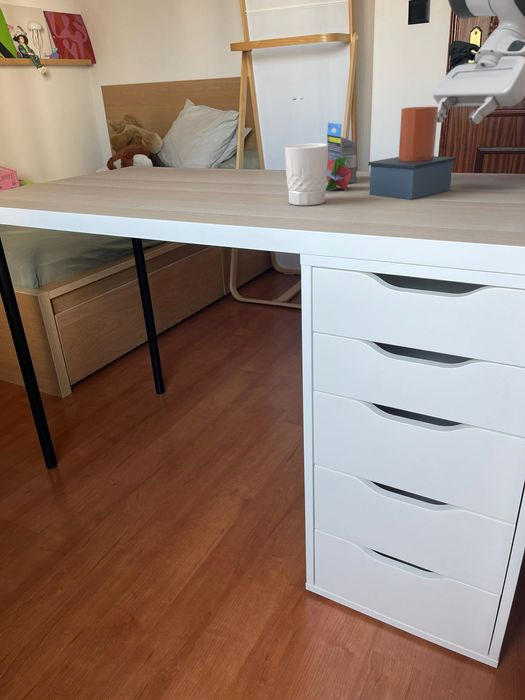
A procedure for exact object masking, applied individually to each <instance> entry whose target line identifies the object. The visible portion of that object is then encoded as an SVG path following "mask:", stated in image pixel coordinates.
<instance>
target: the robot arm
mask: <svg viewBox="0 0 525 700" xmlns="http://www.w3.org/2000/svg"><path fill="white" fill-rule="evenodd" d="M447 3H448V5H449V7H450V9H451V10H452V12H453V14H454V15H455V16H456V17H457V18H459V19H463V20H465V19H473V18H479V17H497V19H498V25H497V27H496V28H495V29H494V30H493V31H492V32H491V33H490V35H489V36H488V37H487V39H486V40H485V41H484V42H483V44H482V46H481V47H480V48H479V49H478V51H477V52H476V53H475V56H474V61H473V62H464V63H463V64H459V65H456V66H454V68H452V69H451V70H449V72H448V73H446V75H445V76H444V77H443V78H442V79H441V80H440V82H439V83H438V84H437V85H436V86H435V88H433V89H434V90H433V91H432V97H433V98H434V100H435V102H436V103H437V105H438V106H437V107H438V113H437V123H444V122H445V120H446V119H447V118H448V115H447V111H448V110H450V109H452V108H453V107H458V108H459V107H466V108H467V107H468V108H469V107H470V108H472V107H474V108H475V107H478V108H477V109H473V110H472V111H471V112H470V114H469V115H468V117H467V120H468V121H469V123H470V124H471V125H479V124H480V123H481V121H482V120H484V118H485V117H487V116H488V115H490V114H491V113H492V112H494V111H496V109H497V108H498V107H500V108H502V107H503V108H508V107H509V108H512V107H514V106H516V105H518V104H519V103H520V102H522V100H523V99H524V98H525V0H447Z"/></svg>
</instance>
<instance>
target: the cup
mask: <svg viewBox="0 0 525 700" xmlns="http://www.w3.org/2000/svg"><path fill="white" fill-rule="evenodd" d="M437 113H438V106H412V107H410V106H409V107H402V108H401V112H400V130H399V132H400V133H399V145H398V157H399V160H400V161H428V160H433V159H434V156H435V148H436V137H437V123H438V122H437Z"/></svg>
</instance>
